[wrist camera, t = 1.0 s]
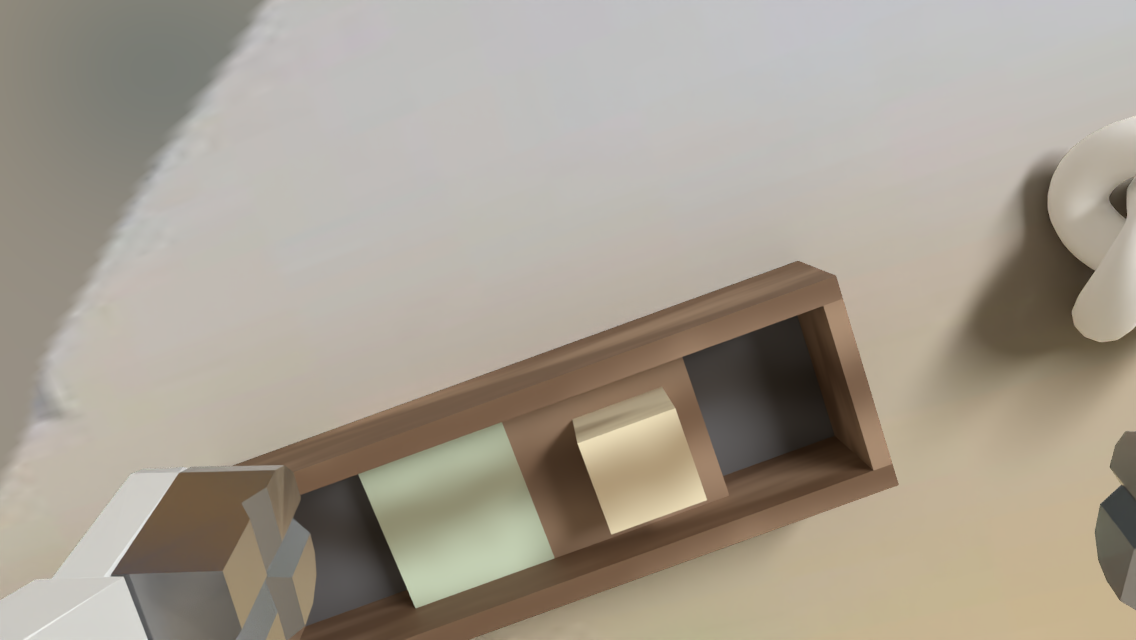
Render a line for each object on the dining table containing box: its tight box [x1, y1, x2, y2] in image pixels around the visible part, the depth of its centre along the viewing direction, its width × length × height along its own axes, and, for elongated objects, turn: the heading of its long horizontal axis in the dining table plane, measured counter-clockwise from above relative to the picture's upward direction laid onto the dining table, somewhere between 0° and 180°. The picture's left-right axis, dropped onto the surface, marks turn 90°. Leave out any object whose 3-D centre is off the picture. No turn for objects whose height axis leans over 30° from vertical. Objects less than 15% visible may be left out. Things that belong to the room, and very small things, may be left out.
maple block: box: [572, 387, 707, 535], centre depth 46 cm, size 5×5×4 cm
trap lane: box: [233, 261, 899, 640], centre depth 48 cm, size 11×34×6 cm, turn 110°
